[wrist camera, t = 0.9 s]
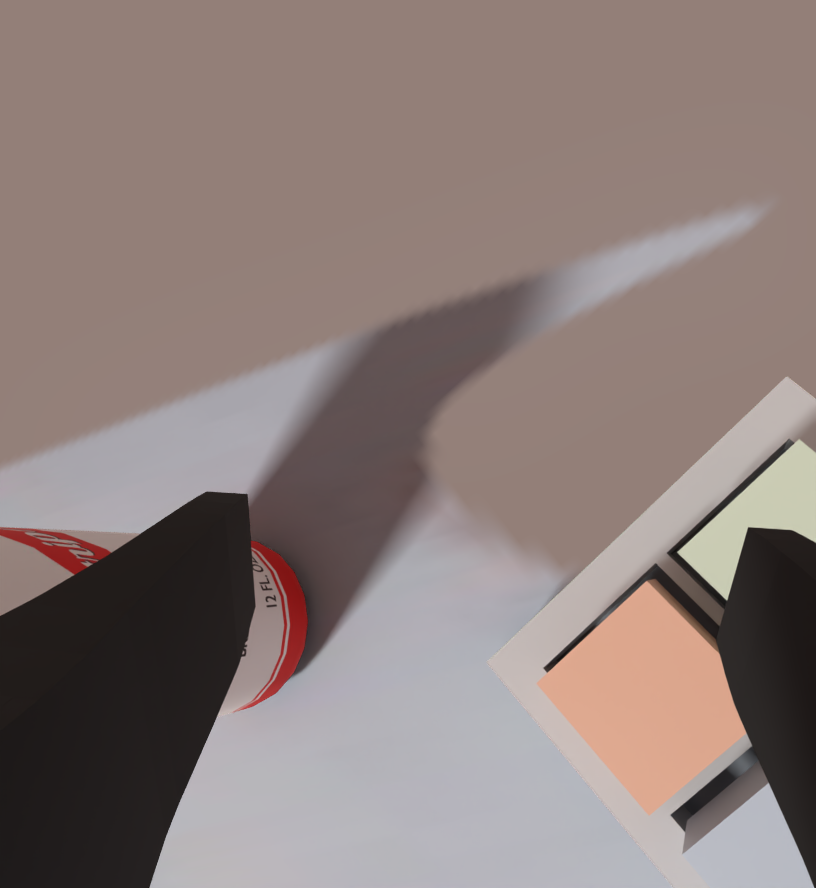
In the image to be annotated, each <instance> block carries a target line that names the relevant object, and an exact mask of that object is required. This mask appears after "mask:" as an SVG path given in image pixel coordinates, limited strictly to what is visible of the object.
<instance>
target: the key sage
mask: <svg viewBox="0 0 816 888" xmlns="http://www.w3.org/2000/svg"><path fill="white" fill-rule="evenodd" d="M748 527H754V528H769V529H784V530H793V531H795V532H797V533H799V534H801V535H803V536H805V537H807V538H808V539H810V540H812V541H814V542H815V543H816V453H815V452H814V451H813V450H812V449H811V448H809V447H808V446H807V445H806V444H804V443H803V442H802V441H801V440H800V439H799V440H798V441H797V442H795V443H794V444H793V445H792V446H791V447H790V448H789V449H788V450H787V451H786V452H785V453H784V454H783V455H781V456H780V457H779V458H778V459H777V460H776V461H775V462H774V463H773V464H772V465H771V466H770V467H769V468H767V469H766V470H765V471H764V472H763V473H762V474H761V475H760V476H759V477H758V478H757V479H756V480H755V481H753V482H752V483H751V484H750V485H749V486H748V487H747V488H746V489H745V490H744V491H743V492H742V493H741V494H739V495H738V496H737V497H736V498H735V499H734V500H733V501H732V502H731V503H730V504H729V505H728V506H727V507H725V508H724V509H723V510H722V511H721V512H720V513H719V514H718V515H717V516H716V517H715V518H714V519H713V520H711V521H710V522H709V523H708V524H707V525H706V526H705V527H704V528H703V529H702V530H701V531H700V532H699V533H697V534H696V535H695V536H694V537H693V538H692V539H691V540H690V541H689V542H688V543H687V544H686V545H685V546H683V547H682V548H681V549H680V550H679V551H678V552H677V553H678V554H679V555H680V556H681V557H682V558H684V559H685V560H686V561H687V562H688V563H689V564H690V565H691V566H692V567H693V568H694V569H695V570H696V571H697V572H698V573H699V574H700V575H701V576H702V577H703V578H704V579H705V580H706V581H707V582H708V583H709V584H710V585H711V586H712V587H713V588H715V589H716V590H717V591H718V592H719V593H720V594H721V595H722V596H723V597H724V598H725V599H726V600H727V599H728V596H729V592H730V589H731V585H732V582H733V578H734V575H735V571H736V568H737V564H738V561H739V557H740V554H741V550H742V547H743V543H744V540H745V536H746V533H747V529H748Z"/></svg>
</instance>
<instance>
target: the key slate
mask: <svg viewBox="0 0 816 888" xmlns="http://www.w3.org/2000/svg"><path fill="white" fill-rule="evenodd" d="M682 855H683V856H684V858H685V859H686V860H687V861H688V862H689V863H690V865H691V866H692V867H693V868H694V869H695V870H696V872H697V873H698V874H699V875H700V876H701V878H702V879H703V880H704V881H705V882H706V883H707V885H708V886H709V887H710V888H814V886H813V883H812V881H811V878H810V876H809V873H808V871H807V868H806V866H805V863H804V861H803V858H802V856H801V854H800V852H799V850H798V847H797V845H796V843H795V841H794V838H793V836H792V834H791V832H790V829H789V827H788V825H787V823H786V821H785V818H784V816H783V814H782V812H781V809H780V807H779V805H778V803H777V800H776V798H775V796H774V794H773V792H772V789H771V787H770V785H769V783H768V780H767V778H766V776H765V774H764V772H763V769H762V767H761V765H760V763H759V761H758V762H756V763H755V764H754V765H753V766H752V767H750V768H749V769H748V770H747V771H746V772H744V773H743V774H742V775H741V776H740V777H739V778H737V779H736V780H735V781H734V782H733V783H731V784H730V785H729V786H728V787H727V788H725V789H724V790H723V791H722V792H721V793H719V794H718V795H717V796H716V797H715V798H713V799H712V800H711V801H710V802H709V803H707V804H706V805H705V806H704V807H703V808H701V809H700V810H699V811H698V812H697V813H696V814H694V815H693V816H692V817H691V818H690V819H688V820H687V824H686V831H685V838H684V845H683V852H682Z"/></svg>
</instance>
